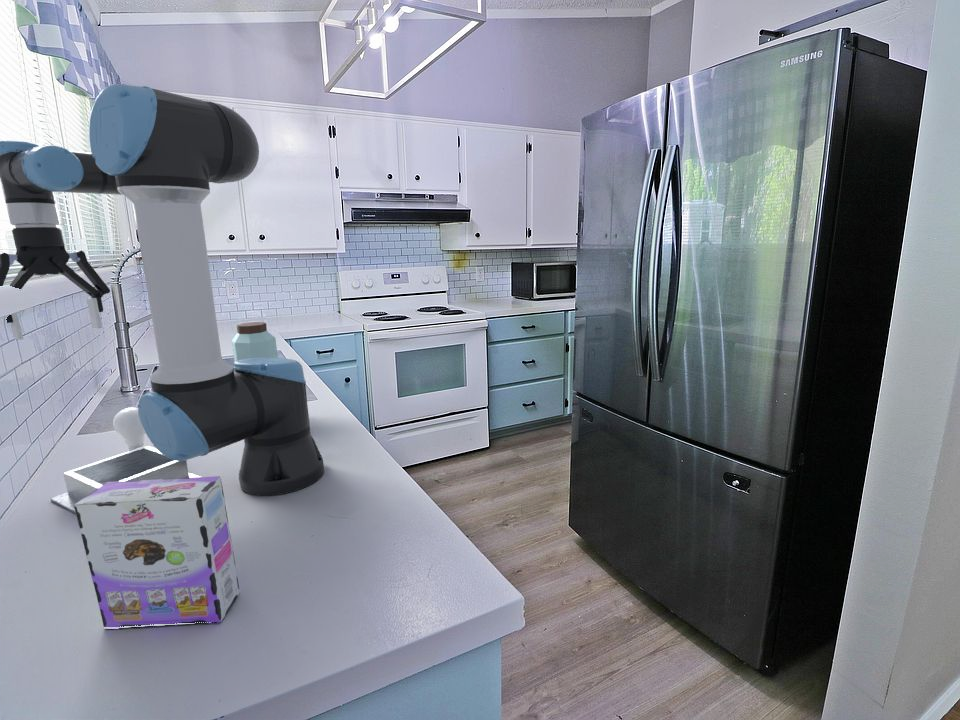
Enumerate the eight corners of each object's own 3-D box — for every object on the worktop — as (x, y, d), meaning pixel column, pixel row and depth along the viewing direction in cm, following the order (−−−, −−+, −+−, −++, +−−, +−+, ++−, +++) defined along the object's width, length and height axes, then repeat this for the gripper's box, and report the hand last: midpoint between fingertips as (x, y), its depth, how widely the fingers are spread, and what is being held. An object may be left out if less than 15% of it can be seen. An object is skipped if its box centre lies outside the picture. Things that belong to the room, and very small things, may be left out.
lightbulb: (138, 463, 106) (128, 413, 104) (112, 462, 108) (102, 412, 105) (162, 451, 112) (153, 403, 110) (138, 450, 114) (128, 402, 111)
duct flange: (206, 480, 97) (202, 456, 96) (99, 526, 82) (93, 498, 81) (155, 462, 106) (151, 440, 105) (51, 500, 91) (44, 475, 90)
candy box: (242, 592, 66) (223, 473, 62) (221, 625, 60) (199, 497, 56) (132, 597, 65) (107, 478, 61) (100, 632, 59) (70, 503, 56)
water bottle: (294, 418, 131) (282, 322, 125) (259, 431, 123) (245, 328, 117) (269, 413, 136) (257, 320, 130) (234, 424, 128) (220, 326, 122)
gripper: (98, 228, 113) (117, 323, 118) (-58, 227, 92) (-28, 342, 97) (116, 226, 109) (134, 324, 114) (-44, 225, 88) (-13, 345, 93)
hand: (60, 333), depth 106 cm, fingers open, 13 cm apart
